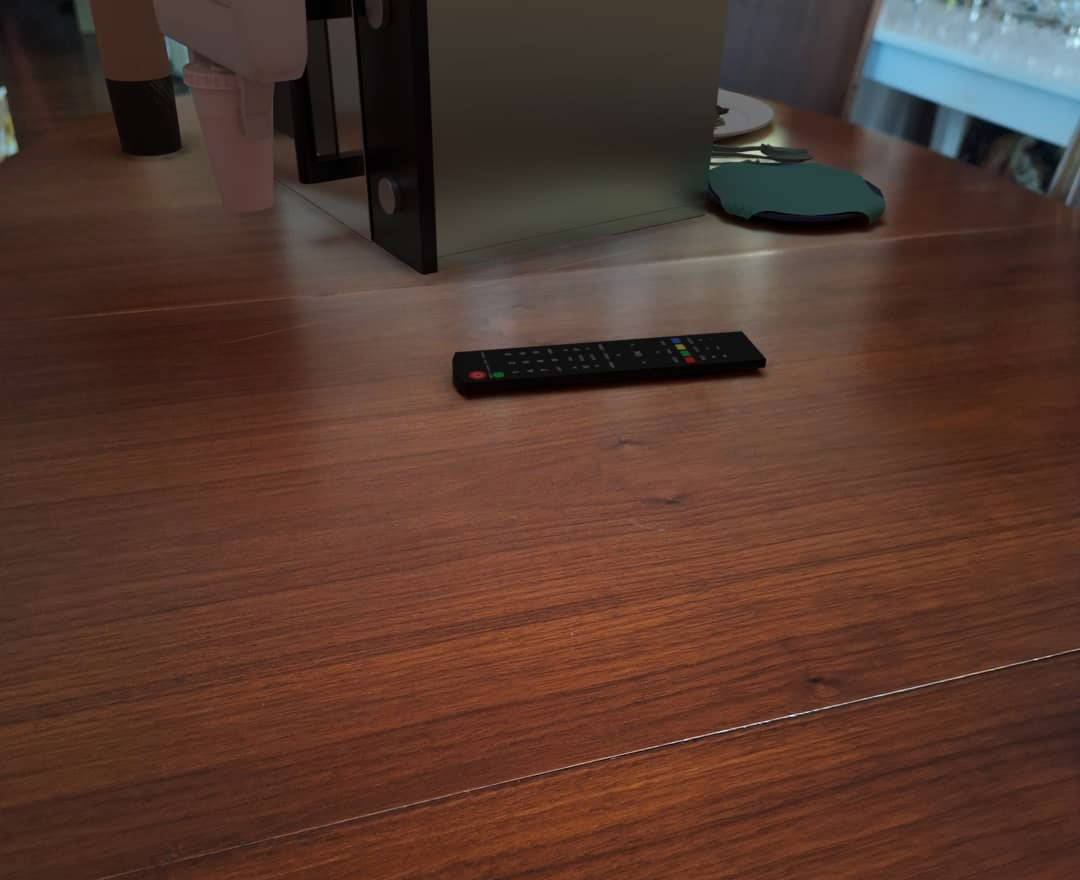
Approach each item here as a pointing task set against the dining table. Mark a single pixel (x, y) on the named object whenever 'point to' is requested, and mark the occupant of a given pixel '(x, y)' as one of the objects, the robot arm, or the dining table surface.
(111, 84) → the travel mug
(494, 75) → the microwave
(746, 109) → the plated food
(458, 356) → the remote control
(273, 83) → the robot arm
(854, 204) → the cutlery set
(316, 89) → the microwave door
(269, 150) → the smoothie
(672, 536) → the dining table surface
